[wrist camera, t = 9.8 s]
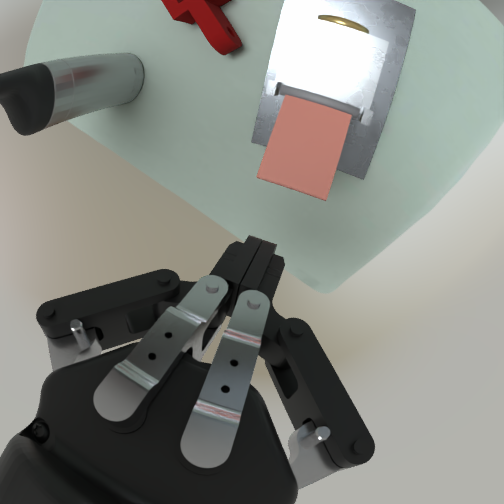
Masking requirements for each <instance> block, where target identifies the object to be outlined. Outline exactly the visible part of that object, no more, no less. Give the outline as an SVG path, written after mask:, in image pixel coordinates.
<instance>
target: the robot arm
mask: <svg viewBox="0 0 504 504" xmlns="http://www.w3.org/2000/svg"><path fill="white" fill-rule="evenodd" d="M143 79H144V72H143V67H142V64H141V62H140V60H139V59H138V58H137V57H136V56H135V55H133V54H130V53H116V54H98V55H88V56H79V57H71V58H64V59H58V60H53V61H48V62H43V63H38V64H34V65H30V66H26V67H22V68H19V69H16V70H12V71H8V72H5V73H2V74H0V104H1V105H2V106H3V108H4V109H5V111H6V113H7V115H8V118H9V120H10V122H11V124H12V126H13V127H14V129H15V130H16V131H17V132H18V133H19V134H21V135H24V136H26V135H31V134H34V133H36V132H38V131H41V130H43V129H46V128H48V127H51V126H53V125H56V124H59V123H61V122H64V121H67V120H70V119H72V118H75V117H78V116H81V115H85V114H88V113H91V112H94V111H98V110H101V109H105V108H108V107H112V106H116V105H120V104H124V103H127V102H130V101H131V100H133V99H134V98H135V97H136V96H137V94H138V93H139V91H140V89H141V87H142V84H143ZM276 246H277V244H274V243H271V242H268V241H265V240H262V239H259V238H256V237H253V236H250V235H249V236H248V238H247V239H246V241H245V243H241V242H238V241H236V242H234V243H232V244H230V245H229V246H228V248H227V249H226V251H225V253H223V255H222V257H221V258H220V259H219V261H218V262H217V264H216V265H215V267H214V268H213V270H212V271H211V273H210V274H209V275H207V276H204V277H202V278H201V279H199V281H197V282H188V281H180V279H179V276H178V275H177V273H175V272H174V271H172V270H169V269H160V270H157V271H153V272H149V273H146V274H142V275H138V276H135V277H131V278H128V279H124V280H121V281H117V282H113V283H110V284H106V285H103V286H99V287H96V288H92V289H89V290H85V291H82V292H78V293H75V294H72V295H68V296H64V297H61V298H57V299H54V300H50V301H47V302H45V303H43V304H42V305H41V306H40V307H39V309H38V311H37V314H36V319H37V321H38V323H39V325H40V326H41V328H42V330H43V332H44V334H45V336H46V337H47V340H48V347H49V353H50V358H51V363H52V369H53V372H52V373H51V374H50V375H49V376H48V377H47V378H46V380H45V381H44V383H43V386H42V390H41V397H40V403H39V408H38V411H37V414H36V417H35V419H34V420H33V421H32V423H31V424H30V425H28V426H27V427H26V428H25V429H24V430H22V431H21V432H19V433H18V434H16V435H15V436H14V437H13V438H12V439H11V440H10V441H9V443H8V445H7V447H6V448H5V450H4V451H3V453H2V455H1V457H0V504H294V503H295V501H296V498H297V494H298V489H301V488H303V487H305V486H307V485H310V484H312V483H314V482H316V481H318V480H320V479H322V478H324V477H327V476H328V475H331V474H332V473H334V472H337V471H340V470H344V469H347V468H351V467H354V466H357V465H360V464H363V463H366V462H367V461H369V460H370V459H371V457H372V456H373V454H374V450H375V444H374V440H373V438H372V436H371V435H370V433H369V431H368V429H367V427H366V426H365V424H364V422H363V420H362V418H361V417H360V415H359V413H358V411H357V409H356V407H355V406H354V404H353V402H352V400H351V399H350V397H349V395H348V393H347V391H346V390H345V388H344V386H343V384H342V383H341V381H340V379H339V377H338V375H337V374H336V372H335V370H334V368H333V366H332V365H331V363H330V361H329V359H328V358H327V356H326V354H325V352H324V351H323V349H322V347H321V345H320V344H319V342H318V340H317V339H316V337H315V335H314V333H313V331H312V330H311V328H310V326H309V325H308V324H307V323H306V322H305V321H303V320H301V319H298V318H288V319H285V318H283V317H282V316H280V315H279V314H278V313H277V312H276V311H275V309H274V307H273V304H272V300H273V297H274V294H275V291H276V288H277V286H278V283H279V280H280V277H281V274H282V271H283V269H284V266H285V263H284V259H283V257H281V256H278V255H275V254H274V253H275V250H276ZM226 315H227V316H230V317H231V319H230V322H229V324H228V327H227V329H226V330H225V331H224V333H223V336H222V338H221V341H220V343H219V346H218V349H217V351H216V354H215V357H214V359H213V362H212V364H209V363H204V362H201V360H202V357H203V355H204V353H205V352H206V350H207V349H208V347H209V346H210V344H211V342H212V341H213V339H214V338H215V336H216V335H217V333H218V332H219V330H220V328H221V326H222V323H223V321H224V319H225V317H226ZM140 338H142V339H141V341H140V342H136V343H132V344H129V345H126V346H123V347H120V348H118V349H115V350H112V351H109V352H106V353H104V354H101V351H102V350H105V349H109V348H112V347H115V346H118V345H122V344H124V343H127V342H131V341H134V340H137V339H140ZM100 354H101V355H100ZM258 355H259V356H260V357H262V358H263V359H265V364H266V367H267V369H268V371H269V374H270V376H271V378H272V381H273V383H274V385H275V387H276V389H277V392H278V394H279V396H280V398H281V400H282V403H283V405H284V407H285V409H286V411H287V413H288V416H289V418H290V420H291V422H292V424H293V426H294V428H295V430H296V431H294V432H293V433H292V434H291V436H290V437H289V440H288V446H289V449H290V458H289V460H288V459H287V456H286V454H285V452H284V449H283V447H282V444H281V442H280V439H279V437H278V434H277V432H276V429H275V427H274V424H273V422H272V419H271V417H270V414H269V412H268V409H267V407H266V404H265V402H264V400H263V398H262V396H261V395H260V394H259V392H258V391H257V390H256V389H255V388H254V387H253V386H252V385H251V384H250V381H251V378H252V375H253V371H254V368H255V364H256V360H257V357H258Z"/></svg>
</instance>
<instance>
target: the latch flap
mask: <svg viewBox="0 0 504 504" xmlns="http://www.w3.org/2000/svg"><path fill="white" fill-rule="evenodd" d="M279 94H280V95H284V96H285V97H284V100H283V102H282V105H281V108H280V111H279V114H278V116H277V119H276V122H275V125H274V128H273V130H272V133H271V136H270V139H269V142H268V145H267V148H266V150H265V153H264V156H263V159H262V162H261V165H260V168H259V171H258V174H257V178H259V179H262V180H265V181H268V182H272V183H275V184H278V185H281V186H284V187H287V188H290V189H293V190H296V191H299V192H302V193H305V194H307V195H310V196H313V197H316V198H319V199H321V200H324V201H326V200H327V197H328V193H329V190H330V187H331V184H332V181H333V178H334V174H335V171H336V168H337V165H338V161H339V158H340V155H341V151H342V148H343V145H344V141H345V138H346V134H347V131H348V127H349V124H350V120H351V116H352V117H354V118H357V119H358V116H359V113H360V108H357V107H355V106H352V105H349V104H346V103H343V102H341V101H338V100H335V99H332V98H329V97H325V96H322V95H319V94H316V93H312V92H309V91H305V90H302V89H298V88H294V87H290V86H286V85H281V88H280V92H279Z"/></svg>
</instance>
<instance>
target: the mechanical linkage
mask: <svg viewBox="0 0 504 504" xmlns="http://www.w3.org/2000/svg"><path fill="white" fill-rule="evenodd" d="M161 1H162V2H163V4H164V5H165V7H166V8H167V10H168V12H169V13H170V15H171V16H172V18H173V20H177V21H181V22H185V23H189V24H193V23H195V22H196V23H197V24H198V26H199V27H200V29H201V31H202V32H203V34H204V35H205V37H206V39H207V40H208V42H209V43H210V44H211V46H212V47H213V48H214V49H215V50H216V51H217V52H219V53H220V54H222V55H226V54H228V53H230V52H232V51H234V50H235V49H237V48H239V47H241V46H242V42H241V40H240V38H239V37H238V35H237V33H236V32H235V30H234V28H233V27H232V25H231V24H230V22H229V21H228V19H227V18H226V16H225V15H224V13H223V11H222V10H221V8H220V6H222V5H224V4H225V3H227V2H229V1H231V0H161Z"/></svg>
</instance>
